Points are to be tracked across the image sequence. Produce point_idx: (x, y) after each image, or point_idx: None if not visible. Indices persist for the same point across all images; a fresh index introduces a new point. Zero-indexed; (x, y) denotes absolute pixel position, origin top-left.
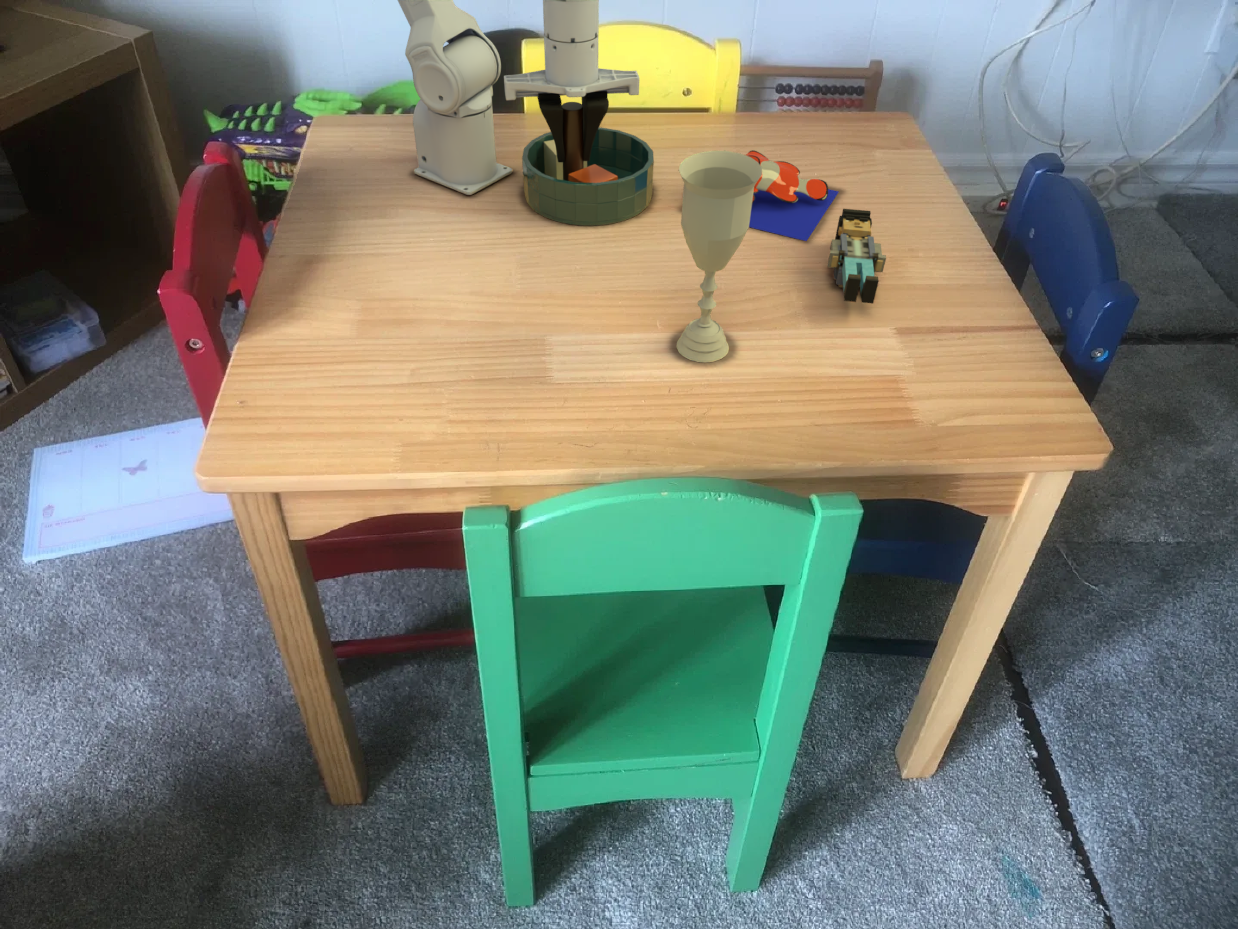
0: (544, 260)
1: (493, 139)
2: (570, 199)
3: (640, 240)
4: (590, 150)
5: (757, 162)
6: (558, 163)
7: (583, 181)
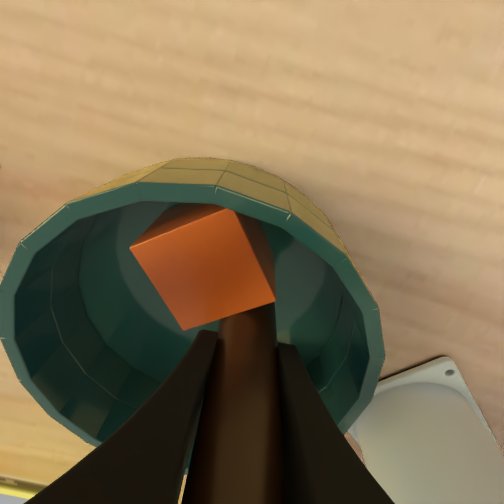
0: (442, 5)
1: (392, 478)
2: (299, 205)
3: (134, 38)
4: (190, 348)
5: None
6: None
7: (246, 245)
